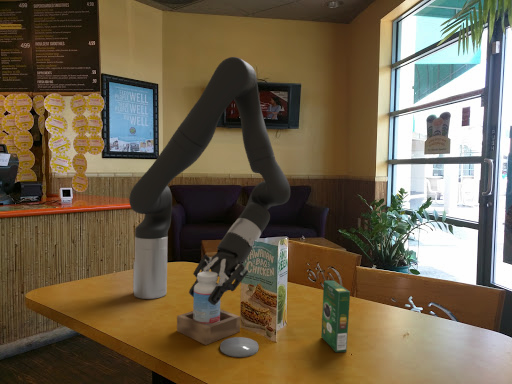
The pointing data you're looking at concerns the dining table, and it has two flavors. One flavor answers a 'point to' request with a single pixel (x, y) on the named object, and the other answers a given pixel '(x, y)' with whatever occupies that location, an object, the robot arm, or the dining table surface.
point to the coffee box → (335, 315)
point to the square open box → (208, 327)
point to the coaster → (239, 347)
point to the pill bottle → (205, 299)
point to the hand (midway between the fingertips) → (201, 298)
